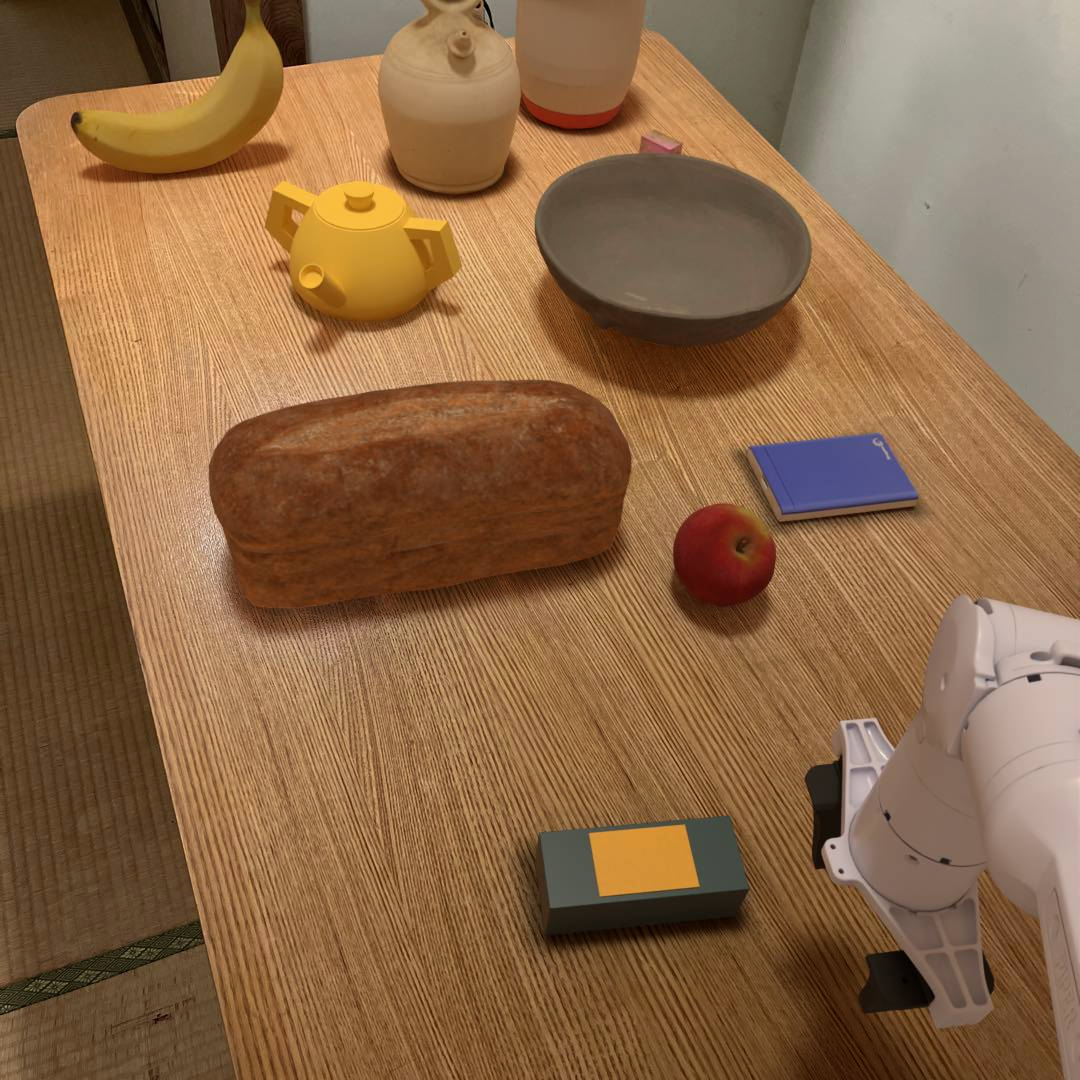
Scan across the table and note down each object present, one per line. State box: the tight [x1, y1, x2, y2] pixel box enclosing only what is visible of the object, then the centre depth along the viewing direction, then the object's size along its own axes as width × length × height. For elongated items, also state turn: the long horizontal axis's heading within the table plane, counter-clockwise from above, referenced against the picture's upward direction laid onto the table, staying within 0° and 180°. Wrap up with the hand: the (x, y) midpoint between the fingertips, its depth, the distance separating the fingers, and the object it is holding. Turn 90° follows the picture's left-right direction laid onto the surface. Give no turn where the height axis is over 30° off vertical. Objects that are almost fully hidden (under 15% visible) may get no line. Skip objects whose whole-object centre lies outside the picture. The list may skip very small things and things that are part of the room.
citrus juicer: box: [514, 0, 647, 130], centre depth 129 cm, size 16×17×20 cm
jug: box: [377, 0, 522, 196], centre depth 115 cm, size 15×16×25 cm
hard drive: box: [746, 432, 919, 523], centre depth 93 cm, size 2×8×12 cm
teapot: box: [264, 180, 463, 324], centre depth 102 cm, size 20×18×11 cm
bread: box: [208, 379, 633, 609], centre depth 81 cm, size 12×31×14 cm, turn 106°
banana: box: [69, 0, 285, 174], centre depth 113 cm, size 23×6×20 cm, turn 109°
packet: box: [534, 815, 750, 936], centre depth 66 cm, size 12×5×4 cm, turn 97°
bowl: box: [534, 152, 813, 348], centre depth 105 cm, size 26×26×10 cm
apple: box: [672, 502, 777, 608], centre depth 81 cm, size 8×8×8 cm
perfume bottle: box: [638, 129, 684, 155], centre depth 123 cm, size 12×12×4 cm
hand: (853, 930), depth 57 cm, fingers open, 7 cm apart
